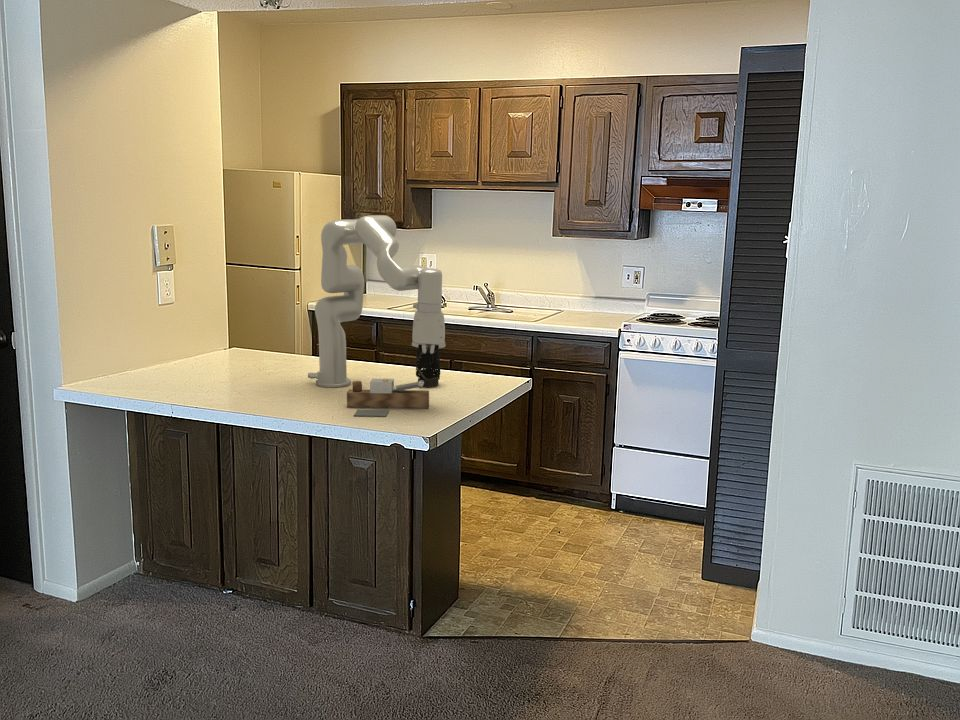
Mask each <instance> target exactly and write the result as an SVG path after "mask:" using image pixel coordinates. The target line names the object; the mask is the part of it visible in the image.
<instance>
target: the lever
mask: <svg viewBox="0 0 960 720" xmlns="http://www.w3.org/2000/svg"><path fill="white" fill-rule="evenodd" d="M423 384H424V381H423V380H420V381H419V382H418V381H416V382H409V383H403V384H399V385H394V392H396V391H401V390H413V389H417V388H419V389H422V388H424V387H423Z"/></svg>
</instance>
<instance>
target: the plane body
mask: <svg viewBox="0 0 960 720" xmlns="http://www.w3.org/2000/svg"><path fill="white" fill-rule="evenodd" d="M351 384H352V389H348V390H347V391H346V409H347V408H349V409H350V408H351V409H408V410H411V409H412V410H416V409H418V410H428V409H429V408H430V390H427V389H426V390H424V389H423V390H420V389H419V390H417V389H416V390H414V389H407V390H401V391H396V392H394V391H393V392H392V393H370V389H363V382H362V381H361V380H355V381H351Z"/></svg>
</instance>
